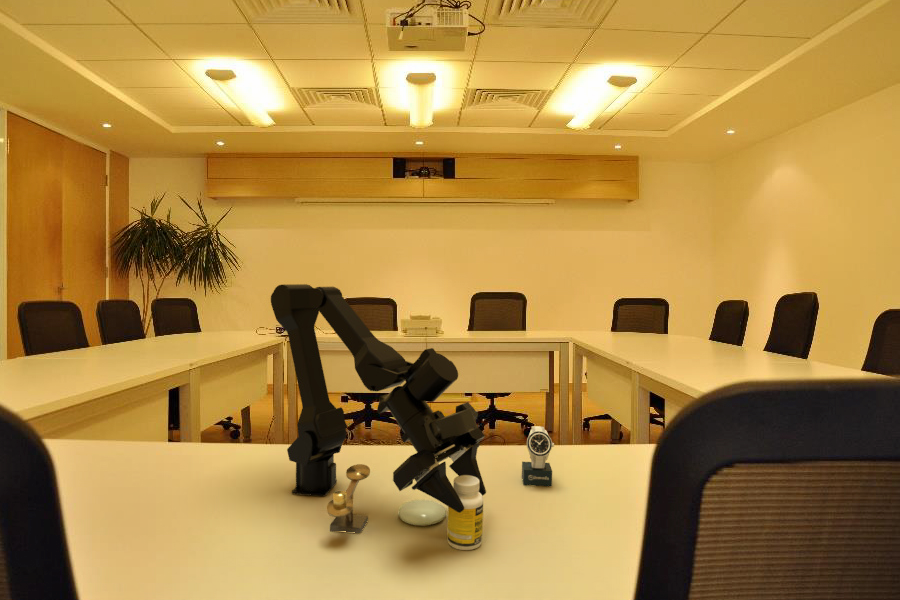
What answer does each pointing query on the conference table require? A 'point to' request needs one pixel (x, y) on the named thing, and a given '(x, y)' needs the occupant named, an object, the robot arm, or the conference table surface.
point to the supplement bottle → (466, 515)
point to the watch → (538, 458)
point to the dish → (422, 512)
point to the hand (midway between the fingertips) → (473, 502)
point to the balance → (348, 503)
